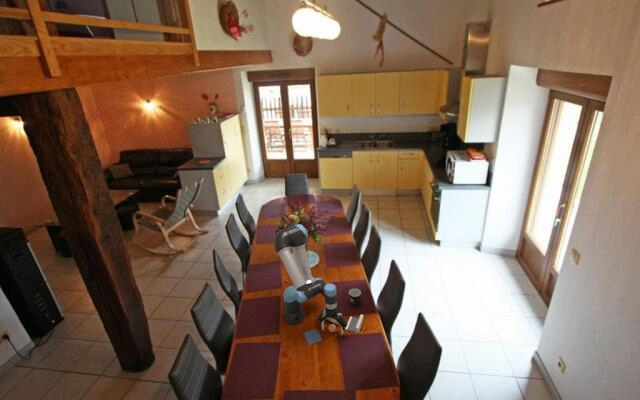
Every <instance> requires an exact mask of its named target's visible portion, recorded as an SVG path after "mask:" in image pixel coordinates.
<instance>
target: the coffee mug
mask: <svg viewBox="0 0 640 400" xmlns="http://www.w3.org/2000/svg"><path fill="white" fill-rule="evenodd" d="M348 294H349V295H348V296H349V302H350V305H351V306H353V307H359V305H360V303H364V301H365V300H364V298H363V297H362V295H361V294H362V292H361V290H360V289H359V288H351V289H349V291H348ZM361 299H362V301H361Z"/></svg>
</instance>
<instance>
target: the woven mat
mask: <svg viewBox="0 0 640 400" xmlns="http://www.w3.org/2000/svg"><path fill="white" fill-rule="evenodd" d="M302 336H303V338H304V340H305V343H306V345H307V346H310V345H313V344H316V343H317V342H318V343H320V342H322V340H323V338H322V335H321V333H320V331H319V329H318V328H315V329H312V330H309V331H308V330H307V331H305V332H303V334H302Z"/></svg>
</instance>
